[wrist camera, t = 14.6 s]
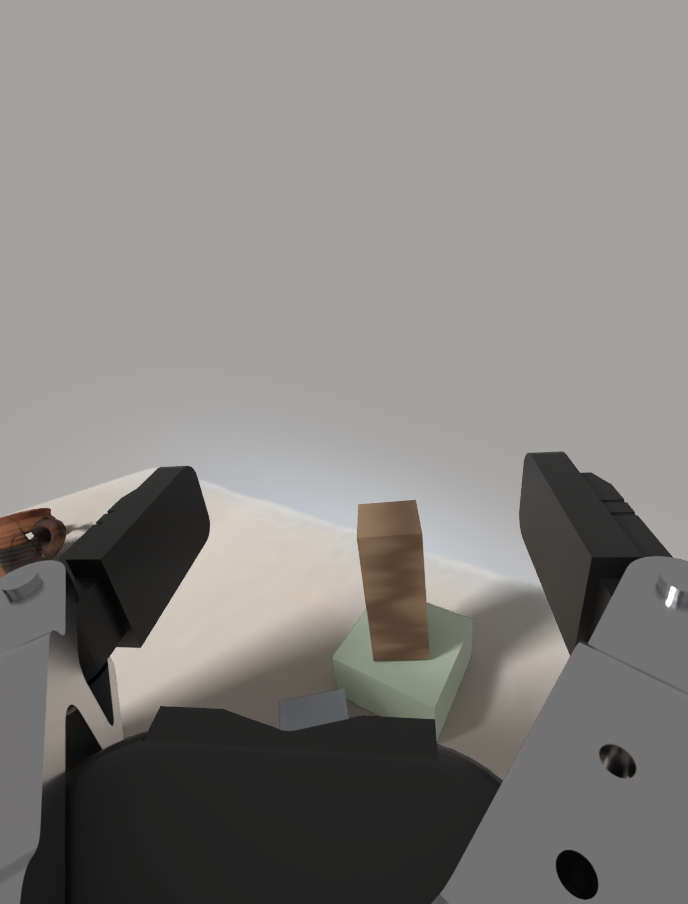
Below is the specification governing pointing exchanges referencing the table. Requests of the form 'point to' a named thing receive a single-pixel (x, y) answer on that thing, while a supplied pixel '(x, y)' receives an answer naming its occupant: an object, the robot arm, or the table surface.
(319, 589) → the table surface
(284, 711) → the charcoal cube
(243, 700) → the table surface
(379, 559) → the walnut post
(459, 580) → the table surface
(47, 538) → the brown arched piece
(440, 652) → the sage block
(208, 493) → the table surface
